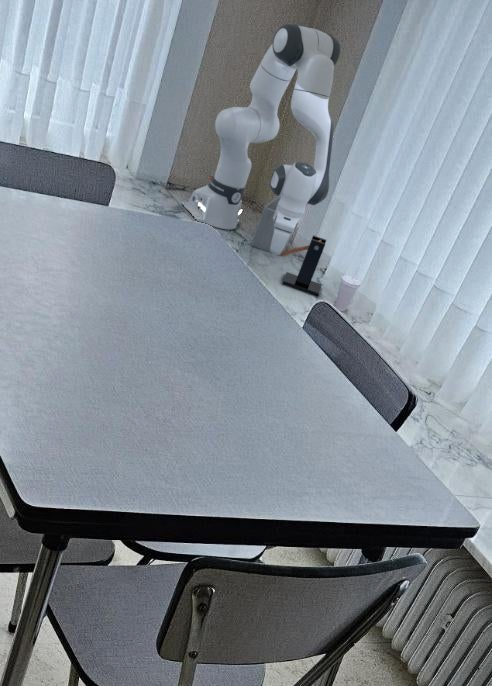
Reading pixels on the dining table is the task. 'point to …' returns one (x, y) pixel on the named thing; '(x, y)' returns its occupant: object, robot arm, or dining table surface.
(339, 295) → the smoothie
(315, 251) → the bracket
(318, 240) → the lever
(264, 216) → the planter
